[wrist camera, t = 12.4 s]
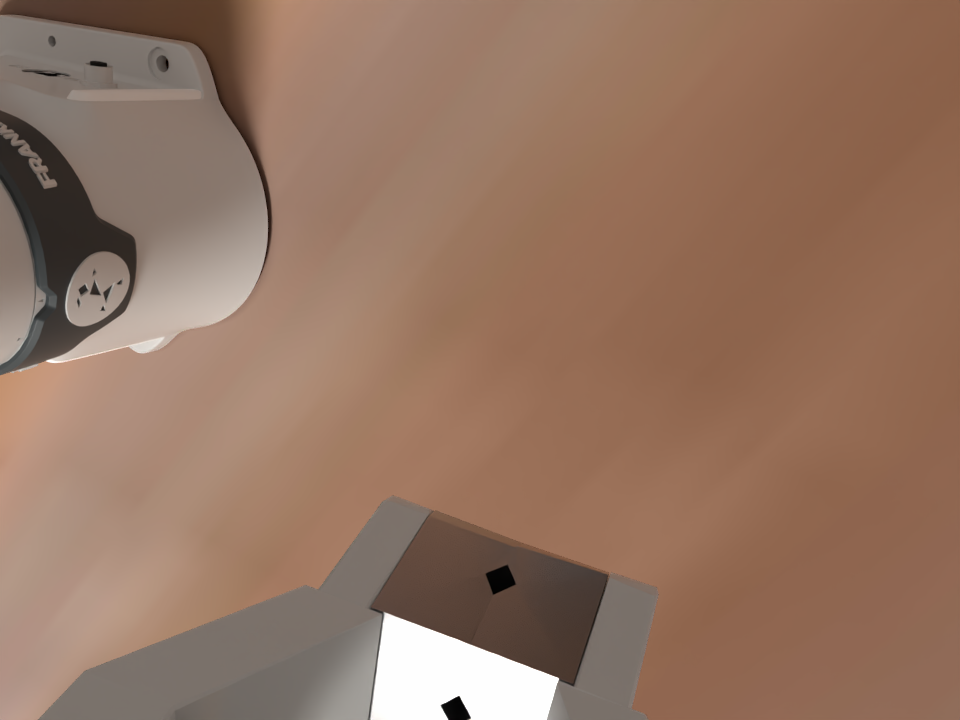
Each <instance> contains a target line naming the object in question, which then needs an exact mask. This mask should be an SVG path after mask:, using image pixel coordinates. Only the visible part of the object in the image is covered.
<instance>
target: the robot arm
mask: <svg viewBox="0 0 960 720" xmlns="http://www.w3.org/2000/svg"><path fill="white" fill-rule="evenodd" d="M166 59H168V62H169V68H167V66H166ZM267 239H268V215H267V206H266V199H265V194H264V189H263V185H262V181H261V178H260V175H259V172H258V169H257V166H256V164H255V161H254V159H253V157H252V155H251V152H250V150H249V148H248V147H247V145H246V143H245V141H244V139H243V138H242V136H241V134H240V133H239V131H238V130H237V128H236V127H235V125H234V124H233V123H232V121H231V120H230V118H229V117H228V115H227V114H226V112H225V110H224V109H223V107H222V105H221V103H220V101H219V98H218V94H217V91H216V87H215V84H214V80H213V77H212V74H211V71H210V68H209V65H208V62H207V60H206V58H205V56H204V54H203V52H202V51H201V50H200V49H199V47H197V46H196V45H194V44H193V43H190V42H185V41H179V40H173V39H167V38H160V37H154V36H148V35H141V34H135V33H129V32H123V31H116V30H110V29H104V28H97V27H91V26H85V25H79V24H72V23H66V22H60V21H53V20H47V19H41V18H34V17H28V16H21V15H0V375H2V374H6V373H9V372H11V373H14V372H15V371H19V372H20V371H23V370H26V369H30V368H33V367H36V366H38V363H41V362H44V361H47V362H51V363H61V362H66V361H70V360H75V359H79V358H83V357H87V356H91V355H96V354H100V353H104V352H108V351H112V350H116V349H120V348H124V347H130V348H131V349H132V350H134V351H136V352H138V353H148V352H152V351H156V350H159V349H161V348H163V347H164V346H165V345H167V344H168V343H169V342H170V341H171V340H172V339H173V338H174V337H175V336H177V335H178V334H179V333H180V332H182V331H185V330H188V329H193V328H199V327H204V326H208V325H212V324H214V323H217V322H219V321H221V320H223V319H225V318H226V317H228V316H229V315H231V314H232V313H233V312H235V311H236V310H237V309H238V308H239V307H240V306H241V305H242V304H243V303H244V301H245V300H246V299H247V297H248V296H249V295H250V293H251V291H252V290H253V288H254V286H255V284H256V282H257V280H258V278H259V275H260V273H261V270H262V266H263V263H264V259H265V254H266V248H267ZM608 575H609V572H606V571H603V570H600V569H597V568H594V567H591V566H588V565H585V564H583V563H580V562H577V561H574V560H571V559H568V558H565V557H562V556H559V555H556V554H553V553H550V552H547V551H545V550H542V549H539V548H536V547H533V546H530V545H527V544H524V543H520V542H518V541H516V540H513V539H510V538H508V537H505V536H502V535H500V534H497V533H494V532H492V531H489V530H486V529H484V528H481V527H478V526H476V525H473V524H470V523H468V522H465V521H462V520H460V519H457V518H454V517H452V516H449V515H447V514H444V513H441V512H439V511H436V510H435V511H432V510H431V509H428V508H425V507H423V506H420V505H417V504H415V503H412V502H409V501H407V500H404V499H401V498H399V497H396V496H394V495H392V496H391V497H389V498H388V499H386V500H384V501H383V502H382V503H381V504H380V506H379V507H378V508H377V510H376V511H375V513H374V514H373V515H372V517H371V518H370V519H369V521H368V522H367V523H366V525H365V526H364V528H363V529H362V530H361V532H360V533H359V534H358V536H357V537H356V539H355V540H354V541H353V543H352V544H351V545H350V547H349V548H348V550H347V551H346V552H345V554H344V555H343V556H342V558H341V559H340V560H339V562H338V563H337V565H336V566H335V567H334V569H333V570H332V571H331V573H330V574H329V576H328V577H327V578H326V580H325V581H324V582H323V584H322V585H321V587H320V588H319V589H315V588H313V587H310V586H307V585H304V586H302V587H299V588H296V589H294V590H291V591H289V592H286V593H284V594H281V595H278V596H276V597H273V598H271V599H268V600H266V601H263V602H260V603H258V604H255V605H253V606H250V607H248V608H245V609H242V610H240V611H237V612H235V613H232V614H230V615H227V616H225V617H222V618H219V619H217V620H214V621H212V622H209V623H207V624H204V625H201V626H199V627H196V628H194V629H191V630H189V631H186V632H183V633H181V634H178V635H176V636H173V637H171V638H168V639H165V640H163V641H160V642H158V643H155V644H153V645H150V646H147V647H145V648H142V649H140V650H137V651H135V652H132V653H129V654H127V655H124V656H122V657H119V658H117V659H114V660H111V661H109V662H106V663H104V664H101V665H99V666H96V667H93V668H91V669H88V670H86V671H84V672H83V673H82V674H81V675H80V676H79V677H78V678H77V679H76V680H75V682H74V683H73V684H72V685H71V686H70V687H69V688H68V689H67V690H66V691H65V692H64V693H63V694H62V695H61V696H60V697H59V698H58V699H57V700H56V701H55V702H54V703H53V705H52V706H51V707H50V708H49V709H48V710H47V711H46V712H45V713H44V714H43V715H42V716H41V717H40V718H39V719H38V720H648V718H647V716H646V715H645V714H643V713H641V712H638V711H636V710H633V709H631V708H632V704H633V700H634V696H635V691H636V687H637V683H638V679H639V675H640V670H641V666H642V662H643V658H644V654H645V649H646V645H647V641H648V637H649V632H650V628H651V624H652V620H653V616H654V611H655V607H656V603H657V599H658V591H657V587H654V586H651V585H648V584H645V583H642V582H639V581H636V580H633V579H630V578H627V577H624V576H621V575H618V574H615V573H612V572H611V574H610V576H609V578H608ZM607 579H608V581H607ZM606 582H607V584H606ZM605 586H606V587H605ZM604 589H605V590H604ZM603 593H604V594H603ZM602 596H603V597H602ZM601 599H602V600H601ZM598 609H599V610H598Z"/></svg>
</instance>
